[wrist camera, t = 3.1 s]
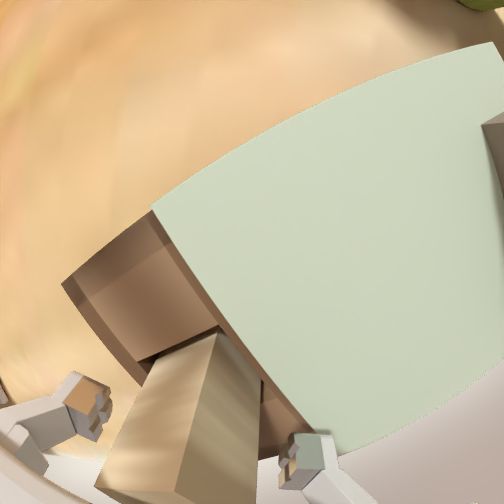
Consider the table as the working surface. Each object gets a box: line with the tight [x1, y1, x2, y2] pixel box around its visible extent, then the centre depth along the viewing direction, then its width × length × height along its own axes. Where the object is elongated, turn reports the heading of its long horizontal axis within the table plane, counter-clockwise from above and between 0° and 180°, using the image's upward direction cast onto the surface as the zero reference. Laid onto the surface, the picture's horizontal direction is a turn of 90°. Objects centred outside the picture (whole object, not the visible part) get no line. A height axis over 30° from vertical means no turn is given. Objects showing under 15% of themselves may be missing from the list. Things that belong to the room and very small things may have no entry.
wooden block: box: [94, 324, 261, 504], centre depth 10 cm, size 3×3×12 cm
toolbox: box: [61, 210, 317, 460], centre depth 12 cm, size 20×13×7 cm, turn 121°
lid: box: [150, 42, 504, 456], centre depth 6 cm, size 13×13×4 cm
